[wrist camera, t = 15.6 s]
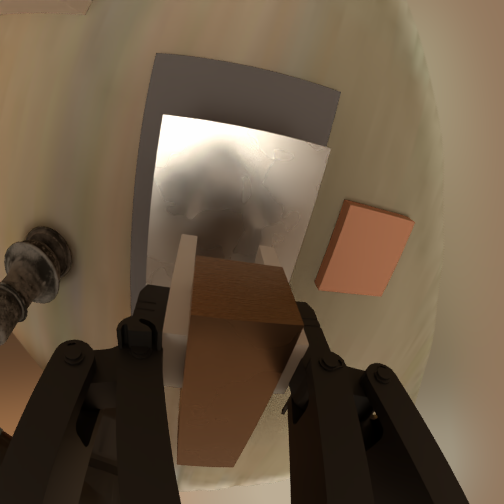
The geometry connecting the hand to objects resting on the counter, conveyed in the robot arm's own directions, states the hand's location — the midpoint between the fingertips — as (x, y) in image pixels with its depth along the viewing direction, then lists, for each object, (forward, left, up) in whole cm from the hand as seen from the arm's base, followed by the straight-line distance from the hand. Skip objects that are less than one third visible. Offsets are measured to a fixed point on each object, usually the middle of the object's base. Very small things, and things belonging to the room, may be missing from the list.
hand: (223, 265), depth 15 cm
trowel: (0, -1, -2) cm, 2 cm away
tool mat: (0, -1, -9) cm, 9 cm away
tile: (+13, -6, -8) cm, 16 cm away
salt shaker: (-15, -7, -9) cm, 19 cm away
